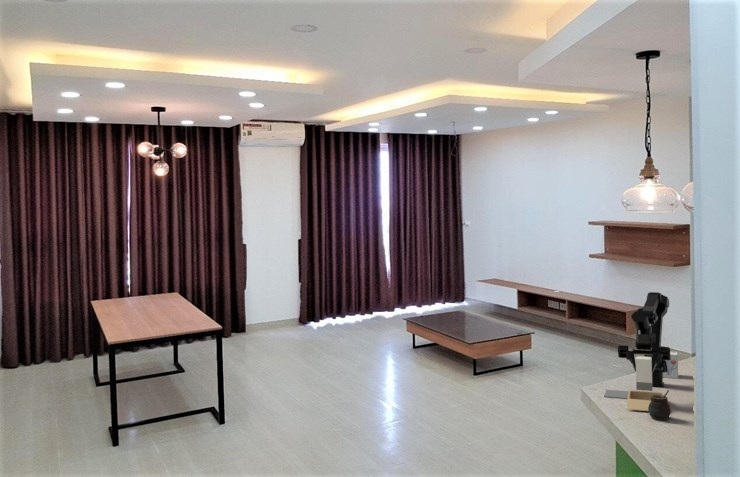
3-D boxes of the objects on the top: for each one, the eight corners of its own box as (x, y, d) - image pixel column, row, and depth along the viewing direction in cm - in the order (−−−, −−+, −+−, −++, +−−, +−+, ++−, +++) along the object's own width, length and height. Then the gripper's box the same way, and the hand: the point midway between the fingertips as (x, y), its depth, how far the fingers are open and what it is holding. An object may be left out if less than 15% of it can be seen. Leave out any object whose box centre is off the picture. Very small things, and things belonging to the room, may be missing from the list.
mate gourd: (643, 417, 221) (642, 389, 221) (659, 414, 224) (659, 387, 223) (659, 423, 214) (658, 394, 214) (675, 419, 217) (675, 391, 217)
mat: (606, 390, 256) (606, 389, 256) (629, 392, 252) (629, 391, 252) (604, 397, 247) (604, 396, 247) (628, 399, 243) (628, 398, 243)
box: (636, 386, 238) (636, 356, 238) (652, 387, 236) (651, 356, 235) (636, 389, 234) (635, 358, 234) (652, 390, 232) (651, 359, 231)
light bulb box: (651, 376, 274) (651, 352, 274) (652, 373, 280) (651, 349, 280) (678, 378, 269) (677, 354, 269) (678, 375, 275) (677, 351, 275)
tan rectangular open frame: (629, 396, 246) (629, 387, 246) (663, 399, 241) (663, 390, 240) (627, 410, 229) (626, 401, 229) (663, 414, 223) (662, 404, 223)
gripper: (617, 324, 242) (616, 358, 232) (669, 326, 234) (670, 361, 224) (619, 340, 249) (618, 373, 240) (669, 342, 241) (671, 377, 232)
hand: (643, 371), depth 234 cm, fingers closed on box, 5 cm apart
